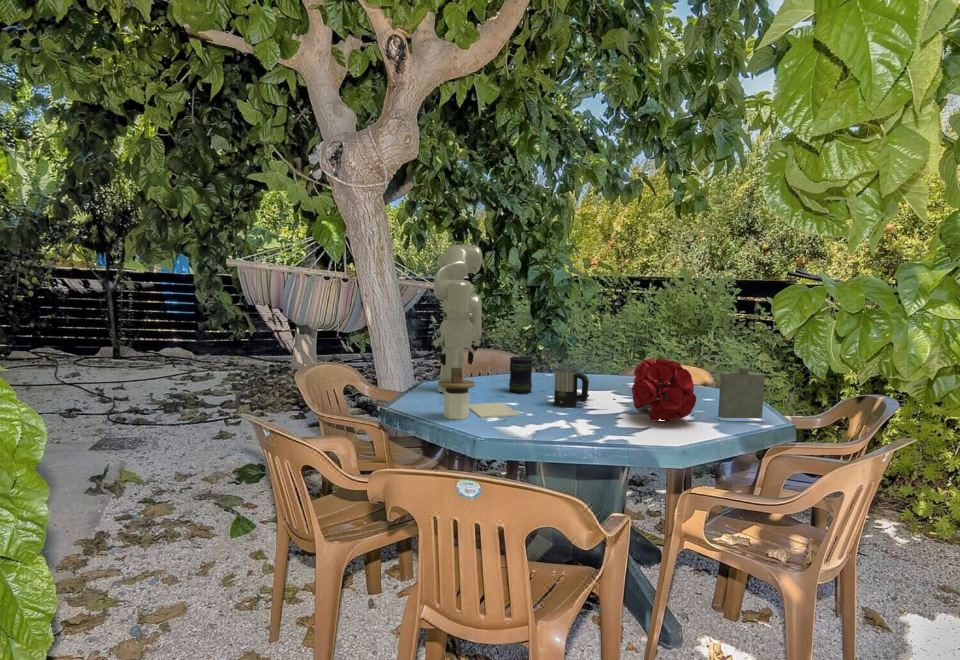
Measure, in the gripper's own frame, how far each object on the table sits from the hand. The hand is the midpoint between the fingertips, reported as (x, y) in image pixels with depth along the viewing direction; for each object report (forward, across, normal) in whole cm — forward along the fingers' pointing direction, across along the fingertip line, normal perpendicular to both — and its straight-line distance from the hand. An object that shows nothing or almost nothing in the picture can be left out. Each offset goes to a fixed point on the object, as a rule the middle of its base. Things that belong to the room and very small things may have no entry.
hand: (456, 364), depth 219 cm
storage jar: (+20, -39, -37) cm, 57 cm away
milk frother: (+20, -51, -12) cm, 56 cm away
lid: (+7, 0, +1) cm, 8 cm away
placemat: (+19, -16, -6) cm, 26 cm away
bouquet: (+20, -73, +17) cm, 77 cm away
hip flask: (+19, -101, +27) cm, 106 cm away
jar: (+19, 0, +1) cm, 19 cm away
